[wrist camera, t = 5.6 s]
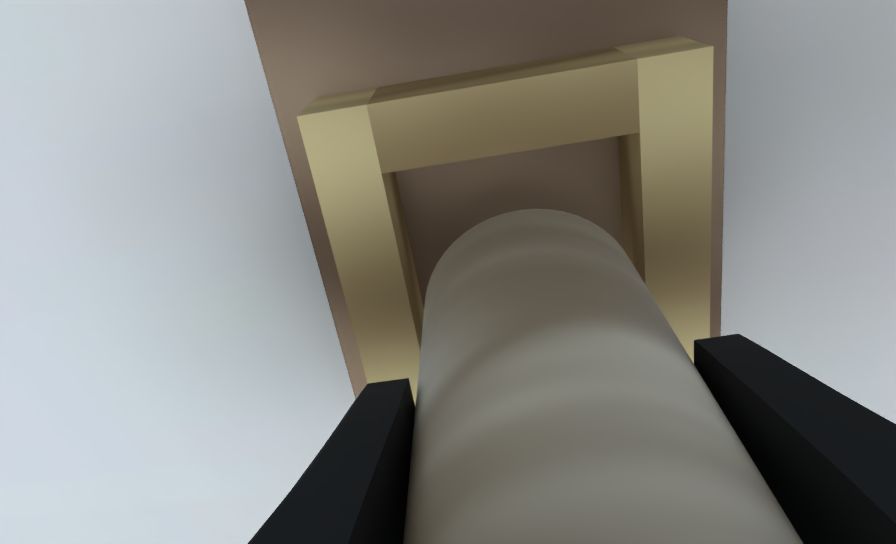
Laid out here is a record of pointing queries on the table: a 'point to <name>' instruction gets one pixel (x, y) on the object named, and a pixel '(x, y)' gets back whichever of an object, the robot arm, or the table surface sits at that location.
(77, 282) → the table surface
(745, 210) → the table surface
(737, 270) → the table surface
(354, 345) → the dock
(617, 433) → the beige cylinder
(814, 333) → the table surface
